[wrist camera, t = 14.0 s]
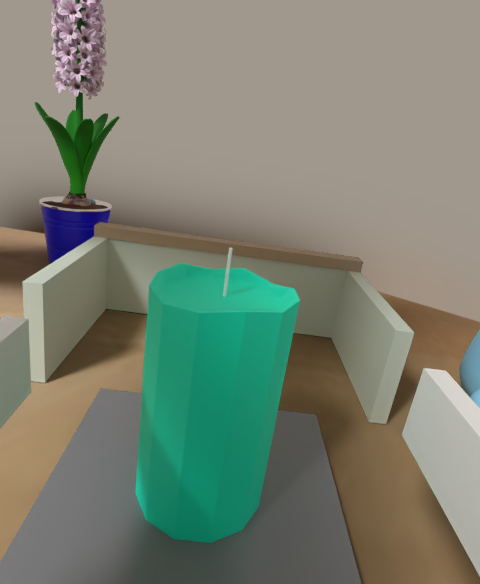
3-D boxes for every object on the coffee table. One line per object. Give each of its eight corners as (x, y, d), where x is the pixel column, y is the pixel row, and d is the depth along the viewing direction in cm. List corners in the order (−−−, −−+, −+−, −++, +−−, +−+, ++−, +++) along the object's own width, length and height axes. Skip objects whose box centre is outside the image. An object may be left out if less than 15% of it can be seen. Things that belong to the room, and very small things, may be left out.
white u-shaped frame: (26, 380, 27) (21, 265, 25) (98, 301, 41) (99, 222, 38) (386, 424, 28) (418, 318, 26) (340, 333, 42) (358, 257, 39)
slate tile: (-38, 647, 14) (-41, 631, 13) (100, 398, 27) (100, 388, 26) (379, 687, 14) (385, 673, 14) (313, 424, 27) (316, 414, 27)
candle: (277, 533, 18) (335, 277, 14) (137, 552, 17) (157, 267, 13) (242, 440, 24) (277, 235, 20) (134, 447, 22) (147, 224, 18)
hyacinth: (110, 249, 59) (118, 1, 48) (115, 272, 50) (127, -25, 40) (42, 246, 56) (35, -19, 45) (34, 271, 47) (24, -53, 36)
